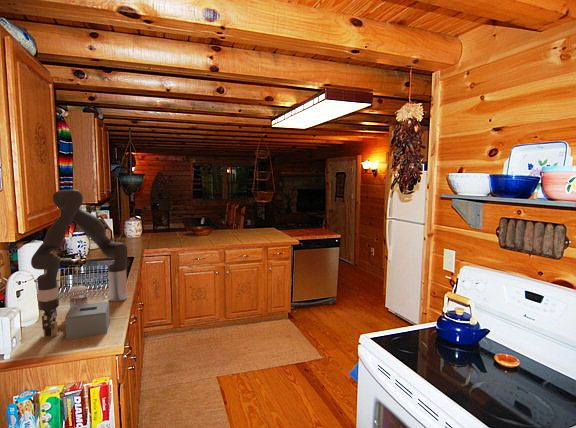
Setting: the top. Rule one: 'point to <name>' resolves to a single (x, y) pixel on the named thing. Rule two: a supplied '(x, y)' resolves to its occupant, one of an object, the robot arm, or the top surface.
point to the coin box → (87, 319)
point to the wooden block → (53, 329)
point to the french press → (78, 298)
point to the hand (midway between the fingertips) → (50, 331)
